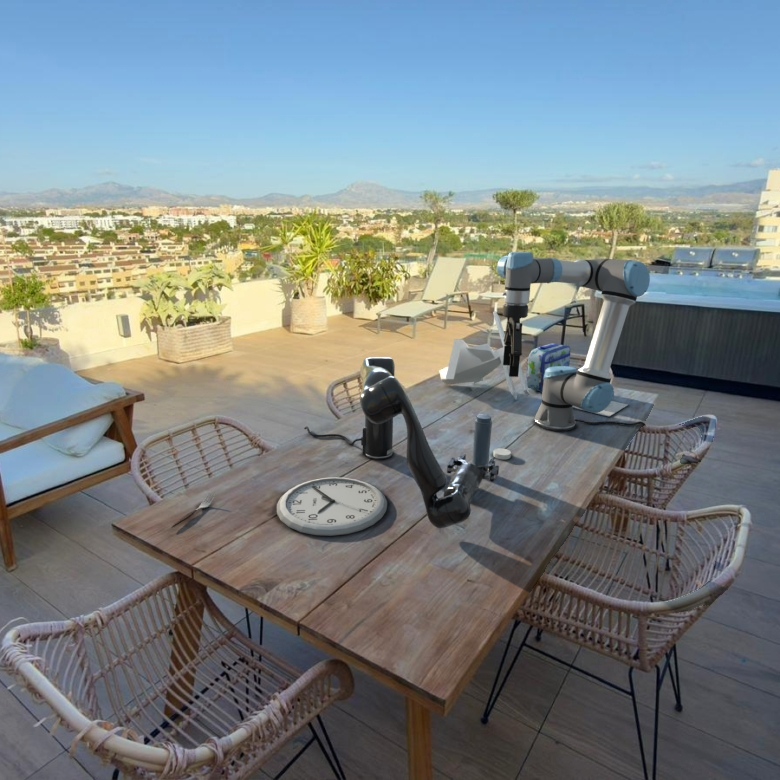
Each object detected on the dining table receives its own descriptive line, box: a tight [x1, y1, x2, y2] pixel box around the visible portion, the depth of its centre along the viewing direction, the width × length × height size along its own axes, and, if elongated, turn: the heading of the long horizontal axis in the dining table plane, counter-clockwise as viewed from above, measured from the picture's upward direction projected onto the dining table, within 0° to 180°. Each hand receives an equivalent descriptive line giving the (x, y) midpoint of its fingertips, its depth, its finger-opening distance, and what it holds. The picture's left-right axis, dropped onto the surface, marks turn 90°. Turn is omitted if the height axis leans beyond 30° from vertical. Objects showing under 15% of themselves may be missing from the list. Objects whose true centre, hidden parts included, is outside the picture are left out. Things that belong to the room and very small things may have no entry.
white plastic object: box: [438, 310, 531, 400], centre depth 245 cm, size 37×45×31 cm
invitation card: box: [573, 400, 629, 418], centre depth 226 cm, size 21×1×15 cm
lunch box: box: [525, 343, 571, 393], centre depth 249 cm, size 26×11×21 cm, turn 134°
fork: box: [171, 493, 217, 529], centre depth 137 cm, size 3×16×2 cm, turn 160°
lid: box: [492, 447, 512, 461], centre depth 175 cm, size 6×6×2 cm
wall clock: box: [276, 476, 388, 537], centre depth 142 cm, size 30×2×30 cm
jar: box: [471, 413, 493, 469], centre depth 160 cm, size 5×5×19 cm
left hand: (478, 459), depth 157 cm, fingers open, 8 cm apart
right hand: (510, 370), depth 167 cm, fingers open, 13 cm apart
